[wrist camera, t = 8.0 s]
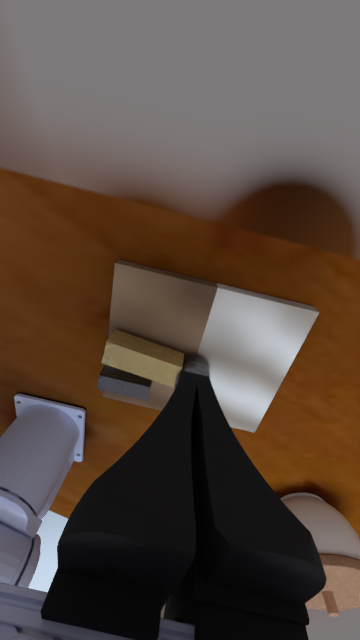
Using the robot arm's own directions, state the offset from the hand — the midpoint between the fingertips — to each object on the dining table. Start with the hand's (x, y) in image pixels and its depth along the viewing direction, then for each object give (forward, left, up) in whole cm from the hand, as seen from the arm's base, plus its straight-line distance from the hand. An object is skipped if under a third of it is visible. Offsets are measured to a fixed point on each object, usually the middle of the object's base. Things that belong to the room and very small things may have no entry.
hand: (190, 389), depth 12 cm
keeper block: (-7, +4, -9) cm, 12 cm away
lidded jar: (-24, -20, -10) cm, 33 cm away
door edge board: (-5, -1, -10) cm, 11 cm away
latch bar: (-5, +2, -8) cm, 10 cm away
